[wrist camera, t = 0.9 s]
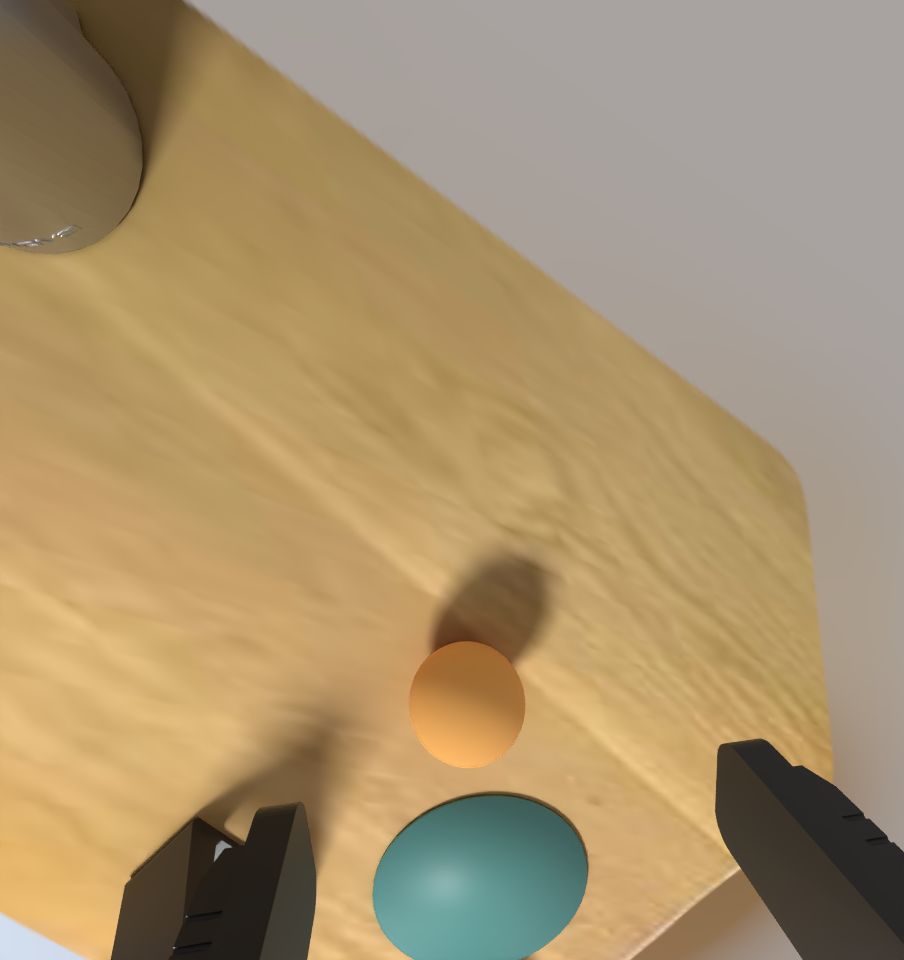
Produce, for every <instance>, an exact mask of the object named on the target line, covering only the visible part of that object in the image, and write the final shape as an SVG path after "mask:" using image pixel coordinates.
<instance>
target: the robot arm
mask: <svg viewBox="0 0 904 960" xmlns="http://www.w3.org/2000/svg"><path fill="white" fill-rule="evenodd" d="M142 167H143V159H142V139H141V134H140V130H139V125H138V120H137V116H136V114H135V111H134V109H133V106H132V104H131V102H130V99H129V97H128V94H127V92H126V90H125V89H124V87H123V85H122V84H121V82H120V81H119V79H118V78H117V76H116V75H115V73H114V71H113V70H112V68H111V67H110V66H109V65H108V64H107V63H106V61H105V60H104V59H103V58H102V57H101V56H100V55H99V54H98V53H97V52H96V51H95V49H94V48H93V47H92V46H91V45H90V44H89V42H88V41H87V40H86V39H85V38H84V35H83V32H82V30H81V27H80V23H79V19H78V14H77V11H76V9H75V8H74V7H73V6H72V5H71V3H70V2H69V1H68V0H0V245H1V246H6V247H9V248H14V249H18V250H22V251H26V252H30V253H43V254H59V253H65V252H70V251H75V250H80V249H82V248H84V247H86V246H89V245H91V244H93V243H95V242H98V241H99V240H101V239H102V238H103V237H104V236H106V235H107V234H108V233H110V232H111V231H112V230H113V229H115V228H116V227H117V225H118V224H119V223H120V222H121V220H122V219H123V218H124V216H125V215H126V214H127V212H128V211H129V209H130V207H131V205H132V203H133V200H134V198H135V196H136V194H137V191H138V188H139V183H140V178H141V173H142ZM715 813H716V819H717V823H718V827H719V830H720V833H721V835H722V838H723V840H724V842H725V844H726V846H727V848H728V850H729V851H730V853H731V854H732V856H733V857H734V859H735V860H736V862H737V863H738V865H739V866H740V868H741V869H742V870H743V872H744V873H745V875H746V876H747V878H748V879H749V881H750V882H751V884H752V885H753V887H754V888H755V890H756V891H757V893H758V894H759V896H760V897H761V898H762V900H763V901H764V903H765V904H766V906H767V907H768V909H769V910H770V912H771V913H772V915H773V916H774V918H775V919H776V921H777V922H778V924H779V925H780V927H781V928H782V930H783V931H784V932H785V934H786V935H787V937H788V938H789V940H790V941H791V943H792V944H793V946H794V947H795V949H796V950H797V952H798V953H799V955H800V956H801V958H802V959H803V960H904V852H903V851H902V850H901V849H900V848H899V847H898V846H897V845H896V844H895V843H894V842H893V843H891V842H890V841H889V840H888V837H887V835H886V834H885V833H884V832H883V831H881V830H880V829H879V828H878V827H877V826H876V825H875V824H874V823H873V822H872V821H871V820H870V819H866V818H865V817H864V813H862V811H861V810H860V809H859V808H858V807H857V806H855V804H853V803H852V802H851V801H850V800H849V799H848V798H847V797H846V796H845V795H844V794H843V793H842V792H841V791H840V790H839V789H838V788H837V787H836V786H834V785H833V784H831V783H829V782H828V781H826V780H825V779H823V778H821V777H820V776H818V775H816V774H815V773H813V772H812V771H810V770H808V769H807V768H805V767H804V766H802V765H801V766H794V767H793V766H792V765H791V764H790V763H789V762H788V761H787V760H786V759H785V758H784V757H783V756H782V755H781V754H780V753H779V752H778V751H777V750H776V749H775V748H774V747H773V746H772V745H771V744H770V743H769V742H767V741H766V740H764V739H753V740H746V741H739V742H732V743H725V744H721V745H720V747H719V749H718V754H717V779H716V803H715ZM315 905H316V870H315V864H314V858H313V852H312V846H311V841H310V835H309V829H308V823H307V817H306V811H305V807H304V805H303V803H302V802H298V803H291V804H284V805H277V806H270V807H263V808H259V809H258V810H257V812H256V814H255V816H254V819H253V822H252V825H251V828H250V831H249V834H248V837H247V840H246V843H245V845H244V846H237V847H231V848H224V850H223V851H222V852H221V854H220V855H219V856H218V858H217V859H216V860H215V861H214V863H213V864H212V865H211V867H210V868H209V869H208V871H207V872H206V873H205V874H204V876H203V877H202V878H201V880H200V882H199V884H198V887H197V889H196V892H195V894H194V897H193V899H192V902H191V904H190V907H189V909H188V912H187V914H186V920H185V924H182V927H181V929H180V932H179V934H178V937H177V939H176V942H175V944H174V947H173V954H172V956H170V957H169V959H168V960H307V957H308V951H309V945H310V939H311V932H312V926H313V920H314V914H315Z"/></svg>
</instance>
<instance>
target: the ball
mask: <svg viewBox="0 0 904 960" xmlns="http://www.w3.org/2000/svg"><path fill="white" fill-rule="evenodd" d="M409 712H410V718H411V722H412V725H413V728H414V731H415V733H416V735H417V737H418V739H419V740H420V742H421V743H422V745H423V746H424V747H425V748H426V749H427V750H428V751H429V752H430V753H431V754H432V755H433V756H434V757H436V758H437V759H439V760H440V761H442V762H444V763H446V764H448V765H451V766H455V767H461V768H476V767H481V766H484V765H487V764H489V763H492V762H493V761H495V760H497V759H498V758H500V757H501V756H502V755H504V754H505V753H506V752H507V751H508V750H509V749H510V747H511V746H512V745H513V743H514V742H515V740H516V739H517V737H518V735H519V733H520V730H521V728H522V724H523V721H524V714H525V696H524V690H523V687H522V683H521V680H520V678H519V676H518V674H517V672H516V670H515V669H514V667H513V666H512V664H511V663H510V662H509V661H508V660H507V659H506V658H505V657H504V656H503V655H502V654H501V653H499V652H498V651H497V650H495V649H493V648H492V647H489V646H487V645H485V644H481V643H478V642H472V641H462V642H455V643H451V644H448V645H446V646H443V647H441V648H440V649H438V650H436V651H435V652H434V653H432V654H431V655H430V656H429V657H428V658H427V659H426V660H425V661H424V662H423V664H422V665H421V666H420V668H419V670H418V671H417V673H416V675H415V677H414V680H413V682H412V686H411V690H410V697H409Z"/></svg>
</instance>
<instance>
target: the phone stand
mask: <svg viewBox="0 0 904 960" xmlns="http://www.w3.org/2000/svg"><path fill="white" fill-rule="evenodd" d="M237 846H240V845H239V844H237V843H236V842H234V841H233V840H231V839H230V838H228V837H227V836H225V835H224V834H222V833H221V832H219V831H218V830H216V829H215V828H213V827H212V826H210V825H209V824H207V823H206V822H204V821H203V820H201V819H200V818H196V819H194V820H193V821H192V822H191V823H190V824H189V825H188V826H187V827H186V828H185V829H184V830H183V831H182V832H181V833H179V834H178V835H177V836H176V837H175V838H174V839H173V840H172V841H171V842H170V843H169V844H168V845H167V846H166V847H165V848H163V849H162V850H161V851H160V852H159V853H158V854H157V855H156V856H155V857H154V858H153V859H152V860H151V861H150V862H149V863H148V864H146V865H145V866H144V867H143V868H142V869H141V870H140V871H139V872H138V873H137V874H136V875H135V876H134V877H133V878H132V879H130V880H129V881H128V882H127V883H126V885H125V888H124V893H123V899H122V904H121V909H120V914H119V920H118V925H117V930H116V935H115V941H114V946H113V951H112V956H111V960H168V959H169V957H170V956H172V954H173V947H174V944H175V942H176V939H177V937H178V934H179V932H180V929H181V927H182V924H185V920H186V914H187V912H188V909H189V907H190V904H191V902H192V899H193V897H194V894H195V892H196V889H197V887H198V884H199V882H200V880H201V878H202V877H203V876H204V874H205V873H206V872H207V871H208V869H209V868H210V867H211V865H212V864H213V863H214V861H215V860H216V859H217V858H218V856H219V855H220V854H221V852H222V851H223V850H224V848H231V847H237Z"/></svg>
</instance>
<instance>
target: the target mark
mask: <svg viewBox="0 0 904 960" xmlns="http://www.w3.org/2000/svg"><path fill="white" fill-rule="evenodd" d="M586 884H587V862H586V857H585V854H584V850H583V847H582V845H581V843H580V841H579V839H578V837H577V835H576V834H575V832H574V831H573V829H572V828H571V827H570V825H569V824H568V823H567V822H566V821H565V820H564V819H563V818H561V817H560V816H559V815H557V814H556V813H555V812H553V811H552V810H550V809H548V808H546V807H545V806H543V805H541V804H538V803H535V802H533V801H530V800H527V799H523V798H518V797H513V796H505V795H484V796H474V797H469V798H464V799H460V800H456V801H453V802H450V803H447V804H444V805H442V806H440V807H437V808H435V809H433V810H431V811H429V812H427V813H426V814H424V815H422V816H421V817H419V818H418V819H416V820H415V821H414V822H412V823H411V824H410V825H408V826H407V827H406V828H405V829H404V830H403V831H402V832H401V833H400V834H399V835H398V836H397V837H396V838H395V839H394V840H393V842H392V843H391V844H390V845H389V847H388V848H387V850H386V852H385V853H384V855H383V857H382V858H381V861H380V863H379V866H378V868H377V871H376V875H375V879H374V886H373V905H374V910H375V914H376V918H377V920H378V923H379V925H380V927H381V929H382V931H383V932H384V934H385V935H386V937H387V938H388V939H389V940H390V941H391V942H392V943H393V945H394V946H396V947H397V948H398V949H399V950H400V951H402V952H403V953H404V954H406V955H408V956H409V957H411V958H413V959H414V960H521V959H523V958H525V957H527V956H529V955H531V954H533V953H534V952H536V951H538V950H540V949H541V948H542V947H544V946H545V945H547V944H548V943H549V942H551V941H552V940H553V939H554V938H555V937H556V936H557V935H559V934H560V933H561V931H562V930H563V929H564V928H565V927H566V926H567V925H568V924H569V922H570V921H571V919H572V918H573V916H574V915H575V913H576V912H577V910H578V908H579V906H580V904H581V901H582V899H583V896H584V893H585V889H586Z"/></svg>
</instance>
